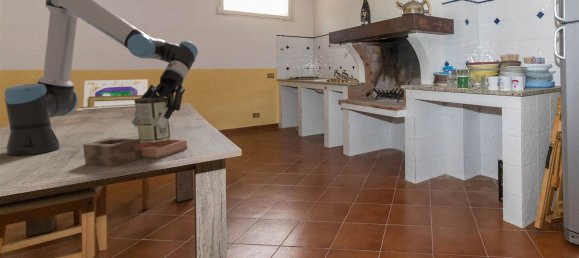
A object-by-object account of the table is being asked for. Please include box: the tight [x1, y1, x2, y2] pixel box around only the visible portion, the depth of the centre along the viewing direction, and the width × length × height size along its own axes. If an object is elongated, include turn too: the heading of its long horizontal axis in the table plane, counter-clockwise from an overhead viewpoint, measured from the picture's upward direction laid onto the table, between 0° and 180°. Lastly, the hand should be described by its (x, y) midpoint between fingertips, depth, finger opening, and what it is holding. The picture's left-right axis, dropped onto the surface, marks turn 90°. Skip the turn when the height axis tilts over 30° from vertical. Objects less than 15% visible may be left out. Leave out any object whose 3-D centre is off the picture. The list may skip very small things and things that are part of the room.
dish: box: [140, 138, 188, 160], centre depth 117 cm, size 15×15×3 cm
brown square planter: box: [82, 137, 142, 168], centre depth 106 cm, size 11×11×6 cm
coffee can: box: [133, 97, 171, 143], centre depth 116 cm, size 10×10×14 cm
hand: (146, 125), depth 113 cm, fingers closed on coffee can, 10 cm apart
